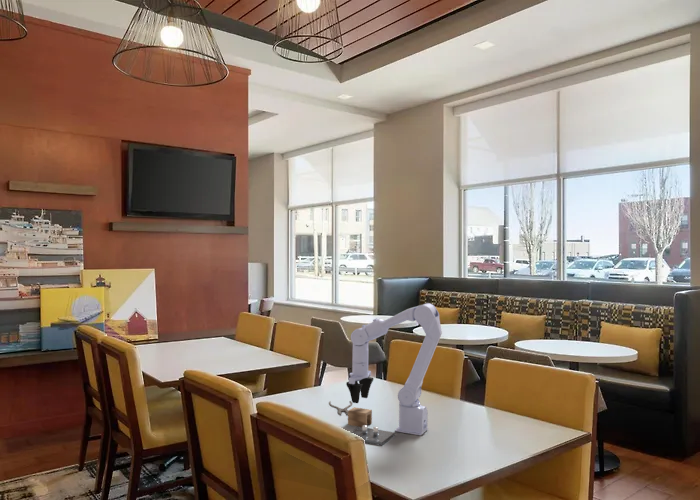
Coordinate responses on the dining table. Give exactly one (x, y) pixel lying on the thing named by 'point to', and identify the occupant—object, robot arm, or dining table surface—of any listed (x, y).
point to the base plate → (373, 435)
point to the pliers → (341, 409)
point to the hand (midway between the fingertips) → (359, 400)
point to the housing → (359, 417)
